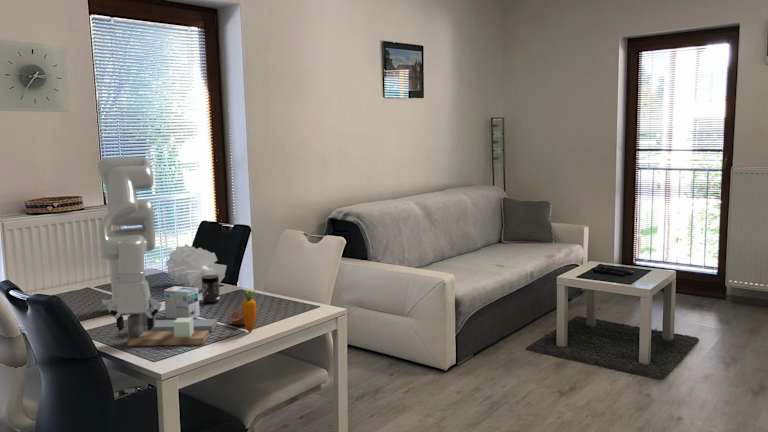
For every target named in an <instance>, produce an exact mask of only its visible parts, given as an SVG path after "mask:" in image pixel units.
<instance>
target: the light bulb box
mask: <svg viewBox="0 0 768 432" xmlns="http://www.w3.org/2000/svg"><path fill="white" fill-rule="evenodd" d="M199 294H200V293H199V291H198V288H195V287H192V288H190V287H189V286H188V287H187V286H178V285H177V286H176V285H174V286H172V287H168V288H166V289H164V290H163V295H164V296H163V297H164V309H165V311H164V312H165V319H172V320H176V319H177V318H193V319H195V318H197V317H200V316H201V313H200V299H199V297H200V296H199Z"/></svg>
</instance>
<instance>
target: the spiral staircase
mask: <svg viewBox="0 0 768 432" xmlns="http://www.w3.org/2000/svg"><path fill="white" fill-rule="evenodd" d="M168 256H169V258H168V260H167V261H166V263H165V265H166V266H167V275H168V276H170V280H175V281H176V283H178V284H179V285H181V284H182V285H184V286H185V287H190V288H198V292H200V291H202V280H201V277H202V276H205V275H218V276H219V284H221V282H222V281H223V279H224V278H225V277H226V275H225V274H226V271H227V267H228V266H227V265H226V264H218V263H216V262H217V261H218V258H217V256H216V253H215V252H213V251H212V252H211V251H208V250H207V249H203V248H202V247H198V248H196V247H195V246H192V245H188V244H187V243H185V244H184V245H183V246H176V247H175V249H174V250H173V251H171V252H169V253H168Z"/></svg>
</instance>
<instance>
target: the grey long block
mask: <svg viewBox="0 0 768 432" xmlns="http://www.w3.org/2000/svg"><path fill="white" fill-rule="evenodd" d="M151 310H152V311H154V310H155V306H154V305H152V304H151ZM142 318H143V332H157V331H174V321H175V320H176V319H156V314H155V315H154V327H153V328H152V329H151V330H148V325H147V319H148V316H147V315H146V314H145V313H142ZM193 325H194V331H209V333H212V332H213V331H214V330H215V328H216V327H217V325H218V318H206V319H205V318H204V319H203V318H200V319H195V318H193Z"/></svg>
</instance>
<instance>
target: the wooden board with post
mask: <svg viewBox="0 0 768 432" xmlns="http://www.w3.org/2000/svg"><path fill="white" fill-rule="evenodd" d="M127 325H128V326H127V329H128V330H127V331H128V339H127V341H126V342H127V346H129V347H135V346H177V345H178V346H181V345H182V346H183V345H184V346H186V345H204V344H205V343H206V341H207V339H209V336H210V335H209V333H210V332H209V331H194V333H193V334H192V335H191V336H190V337H174V331H157V332H143V318H142V313H135V314H129V316H127Z"/></svg>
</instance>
